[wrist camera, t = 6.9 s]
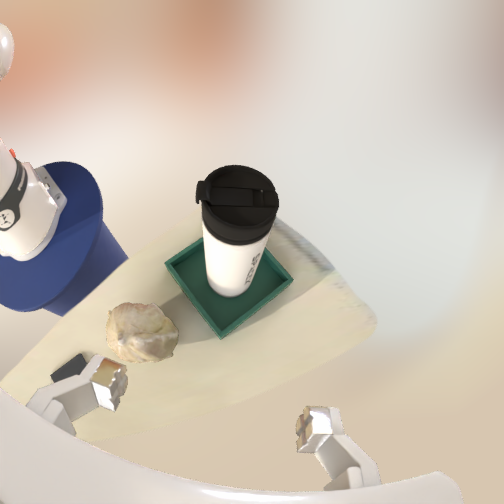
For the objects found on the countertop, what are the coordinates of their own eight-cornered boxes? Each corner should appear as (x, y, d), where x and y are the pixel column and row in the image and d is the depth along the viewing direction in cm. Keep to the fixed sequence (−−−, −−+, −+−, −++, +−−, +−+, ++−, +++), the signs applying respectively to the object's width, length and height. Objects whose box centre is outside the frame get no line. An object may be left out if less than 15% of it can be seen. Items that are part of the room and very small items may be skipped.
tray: (167, 268, 38) (164, 262, 36) (235, 222, 42) (236, 214, 40) (220, 339, 35) (220, 338, 33) (289, 284, 39) (294, 279, 37)
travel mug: (204, 255, 39) (197, 158, 21) (250, 255, 40) (278, 161, 22) (204, 298, 37) (192, 226, 18) (252, 297, 37) (287, 227, 19)
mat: (51, 375, 29) (50, 375, 28) (81, 353, 31) (79, 353, 31) (75, 416, 27) (73, 416, 27) (106, 395, 29) (105, 395, 29)
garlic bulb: (182, 339, 36) (202, 342, 28) (139, 377, 32) (145, 393, 24) (140, 287, 36) (146, 273, 27) (95, 323, 31) (85, 321, 23)
